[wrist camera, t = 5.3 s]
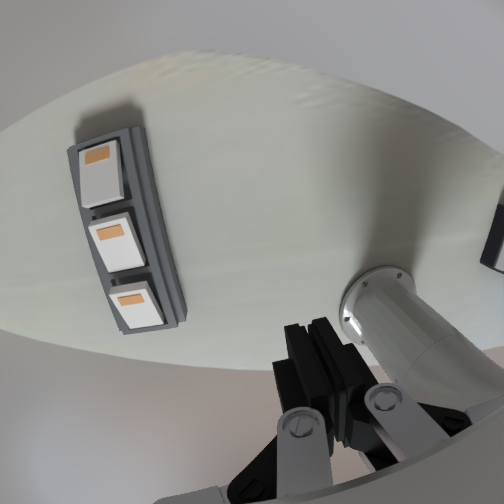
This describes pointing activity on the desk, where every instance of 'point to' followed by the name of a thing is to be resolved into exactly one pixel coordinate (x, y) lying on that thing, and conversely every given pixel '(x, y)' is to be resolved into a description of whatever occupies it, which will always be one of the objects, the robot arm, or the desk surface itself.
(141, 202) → the rocker switch panel
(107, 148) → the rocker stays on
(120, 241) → the rocker middle
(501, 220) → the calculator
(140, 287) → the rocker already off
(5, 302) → the desk surface
